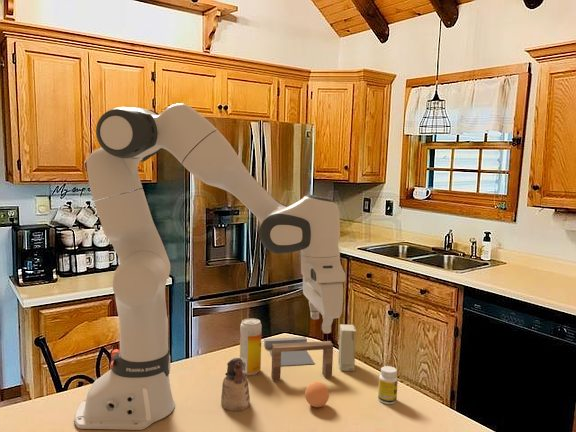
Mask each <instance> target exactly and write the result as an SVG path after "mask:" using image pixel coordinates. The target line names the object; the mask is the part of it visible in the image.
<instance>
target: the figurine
mask: <svg viewBox="0 0 576 432" xmlns="http://www.w3.org/2000/svg"><path fill="white" fill-rule="evenodd" d="M226 365H227V366H226V367H227V368H226V372H225V374H224V375H225V377H224V379H223V380H222V387H221V397H220V398H221V399H220V404H221V407H222V408H224V409H225V410H227V411H232V412H239V411H243V410H245V409H247V408H248V407H249V406H250V403H251V402H250V401H251V400H250V398H251V397H250V387H249V380H248V377H247V375H245V374H243V372H242V365H243V362H242V360H241V359H240V357H233V358H232V359H230V360H229V361H228V362H227V364H226Z"/></svg>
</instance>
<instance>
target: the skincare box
mask: <svg viewBox="0 0 576 432" xmlns="http://www.w3.org/2000/svg"><path fill="white" fill-rule="evenodd" d="M338 332H339V333H338V335H339V337H338V339H339V340H338V367H339V370H340V371H344V372H345V371H348V372H349V371H350V372H351V371H352V372H354V371H355V365H356V364H355V362H356V340H357V338H356V337H357V336H356V334H357V330H356V327H355V325H354V324H344V323H343V324H341V323H340V324H339V331H338Z"/></svg>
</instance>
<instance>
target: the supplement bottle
mask: <svg viewBox="0 0 576 432" xmlns="http://www.w3.org/2000/svg"><path fill="white" fill-rule="evenodd" d="M397 375H398V369H397V368H396V367H393V366H389V365H384V366H381V368H380V375H379V377H378V393H377V398H378V401H379V402H380V403H382V404H385V405H393V404H396V403H397V401H398V400H397V398H398V397H397V396H398V382H399V381H398V379H399V378H398V376H397Z"/></svg>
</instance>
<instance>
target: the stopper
mask: <svg viewBox="0 0 576 432" xmlns="http://www.w3.org/2000/svg"><path fill="white" fill-rule="evenodd" d="M263 340H264V341H263V343H264V344H263V346H264V349H265V350H266V349H272V344H282V343H301V342H308V339H307V337H306V336H300V337H299V336H296V337H277V338H264V339H263Z"/></svg>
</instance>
